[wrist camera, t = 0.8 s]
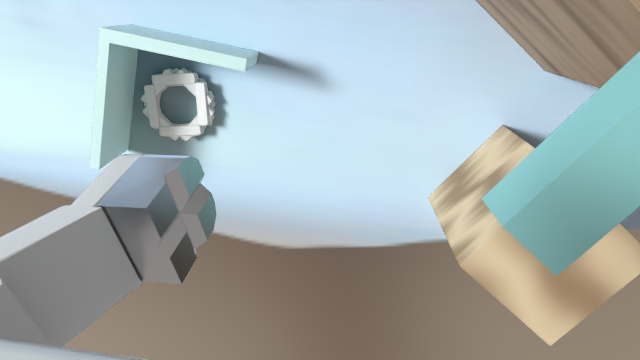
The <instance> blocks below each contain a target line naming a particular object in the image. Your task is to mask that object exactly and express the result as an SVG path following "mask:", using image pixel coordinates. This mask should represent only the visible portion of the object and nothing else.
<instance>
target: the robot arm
mask: <svg viewBox="0 0 640 360" xmlns="http://www.w3.org/2000/svg"><path fill="white" fill-rule="evenodd" d="M203 177H204V172H203V170H202V167H201V165H200V162H199V160H198V159H196V158H194V157H192V156H181V155H149V154H147V155H143V154H124V155H120V156H117V157H116V158H115V159H114V160H113V161H112V162H111V163H110V164H109V165H108V166H107V168H106V169H105V170H104V171H103V172H102V173H101V174H100V175H99V176H98V177H97V178H96V179H95V180H94V181H93V182H92V183H91V184H90V186H89V187H88V188H87V189H86V190H85V191H84V192H83V193H82V194H81V195H80V196H79V197H78V198H77V199H76V200H75V201H74V203H73V204H72V205H71V206H62V207H60V208H58V209H56V210H54V211H52V212H50V213H48V214H46V215H44V216H42V217H40V218H38V219H36V220H34V221H32V222H30V223H28V224H26V225H24V226H22V227H20V228H18V229H16V230H14V231H12V232H10V233H8V234H6V235H4V236H2V237H0V360H151V359H143V358H136V357H129V356H122V355H115V354H108V353H100V352H93V351H86V350H79V349H72V348H65V347H63V346H64V345H65V344H66V343H67V342H69V341H70V340H71V339H72V338H74V337H75V336H76V335H78V334H79V333H80V332H81V331H83V330H84V329H85V328H86V327H88V326H89V325H90V324H91V323H93V322H94V321H95V320H97V319H98V318H99V317H100V316H102V315H103V314H104V313H105V312H107V311H108V310H109V309H110V308H112V307H113V306H114V305H116V304H117V303H118V302H119V301H121V300H122V299H123V298H124V297H125V296H127V295H128V294H129V293H131V292H132V291H133V290H134V289H136V288H137V287H138V286H139V285H141V284H142V283H141V282H158V283H176V284H182V283H183V281H184V279H185V278H186V276H187V274H188V272H189V271H190V269H191V267H192V266H193V264H194V262H195V261H196V259H197V254H196V250H195V248H197V247H198V246H200V245H201V244H203V243H204V242H206V241H207V240H208V238H209V237H210V235H211V233H212V231H213V229H214V224H215V219H216V209H215V202H214V199H213V197H212V194H211V192H210V191H208V190H207V189H206V188H205V187H204V186H203V185H202V184H201V181H202V179H203Z"/></svg>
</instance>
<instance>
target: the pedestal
mask: <svg viewBox="0 0 640 360" xmlns="http://www.w3.org/2000/svg"><path fill="white" fill-rule="evenodd" d="M534 149H535V148H534V147H533V146H531V145H530V144H529V143H527V142H526V141H524V140H523V139H522V138H520V137H519V136H517V135H516V134H515V133H513V132H512V131H511V130H509V129H508V128H506V127H505V126H504V125H502V126H501V127H500V128H499V129H498V130H497V131H496V132H495V133H494V134H493V135H492V136H491V137H490V138H489V139H488V140H487V141H486V142H485V143H484V144H483V145H482V146H480V147H479V148H478V149H477V150H476V151H475V152H474V153H473V154H472V155H471V156H470V157H469V158H468V159H467V160H466V161H465V162H464V163H463V164H462V165H461V166H460V167H459V168H458V169H457V170H456V171H455V172H453V173H452V174H451V175H450V176H449V177H448V178H447V179H446V180H445V181H444V182H443V183H442V184H441V185H440V186H439V187H438V188H437V189H436V190H435V191H434V192H433V193H432V194H431V195H430V196H429V197H428V199H429V201H430V203H431V205H432V207H433V210H434V212H435V214H436V216H437V218H438V220H439V222H440V225H441V227H442V229H443V231H444V233H445V235H446V237H447V240H448V242H449V244H450V246H451V248H452V250H453V252H454V254H455V256H456V259H457V261H458V263H459V265H460V267H461V268H463V269H464V270H465V271H466V272H467V273H468V274H469V275H470V276H472V277H473V278H474V279H475V280H476V281H477V282H478V283H480V284H481V285H482V286H483V287H484V288H485V289H486V290H487V291H489V292H490V293H491V294H492V295H493V296H494V297H495V298H496V299H498V300H499V301H500V302H501V303H502V304H503V305H504V306H506V307H507V308H508V309H509V310H510V311H511V312H512V313H513V314H515V315H516V316H517V317H518V318H519V319H520V320H521V321H523V322H524V323H525V324H526V325H527V326H528V327H529V328H531V329H532V330H533V331H534V332H535V333H536V334H537V335H538V336H540V337H541V338H542V339H543V340H544V341H545V342H546V343H548V344H549V345H550V346H551V345H552V344H553V343H554V342H556V341H557V340H558V339H559V338H561V337H562V336H563V335H564V334H566V333H567V332H568V331H569V330H570V329H572V328H573V327H574V326H576V325H577V324H578V323H579V322H580V321H582V320H583V319H584V318H585V317H587V316H588V315H589V314H590V313H592V312H593V311H594V310H595V309H597V308H598V307H599V306H600V305H602V304H603V303H604V302H605V301H607V300H608V299H609V298H610V297H612V296H613V295H614V294H615V293H617V292H618V291H619V290H620V289H622V288H623V287H624V286H625V285H627V284H628V283H629V282H630V281H632V280H633V279H634V278H635V277H637V276H638V275H639V274H640V243H639V242H638V241H637V240H636V239H635V238H634V237H633V236H632V235H631V234H630V233H629V232H628V231H627V230H626V229H625V228H624V227H623V226H622V225H621V224H618V225H617V226H616V227H615V228H614V229H613V230H611V231H610V232H609V233H608V234H607V235H605V236H604V237H603V238H602V239H601V240H599V241H598V242H597V243H596V244H595V245H593V246H592V247H591V248H590V249H589V250H588V251H586V252H585V253H584V254H583V255H582V256H580V257H579V258H578V259H577V260H576V261H574V262H573V263H572V264H571V265H570V266H569V267H567V268H566V269H565V270H564V271H563V272H561V273H560V274H559V275H558V276H556V275H554V274H553V273H552V272H551V271H550V270H549V269H548V268H547V267H546V266H545V265H544V264H542V263H541V262H540V261H539V260H538V259H537V258H536V257H535V256H534V255H533V254H532V253H531V252H529V251H528V250H527V249H526V248H525V247H524V246H523V245H522V244H521V243H520V242H519V241H518V240H516V239H515V238H514V237H513V236H512V235H511V234H510V233H509V232H508V231H507V230H506V229H505V228H503V227H502V225H501V224H500V223H499V221H498V220H497V219H496V217H495V216H494V215H493V213H492V212H491V211H490V209H489V208H488V207H487V205H486V204H485V203H484V201H483V200H482V198H483V197H484V196H485V195H486V194H487V193H488V192H489V191H490V190H491V189H492V188H493V187H494V186H496V185H497V184H498V183H499V182H500V181H501V180H502V179H503V178H504V177H505V176H506V175H507V174H508V173H510V172H511V171H512V170H513V169H514V168H515V167H516V166H517V165H518V164H519V163H520V162H521V161H522V160H524V159H525V158H526V157H527V156H528V155H529V154H530V153H531V152H532V151H533V150H534Z"/></svg>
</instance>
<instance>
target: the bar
mask: <svg viewBox="0 0 640 360" xmlns="http://www.w3.org/2000/svg"><path fill="white" fill-rule="evenodd" d="M482 200H483V201H484V203H485V204H486V205H487V207H488V208H489V209H490V211H491V212H492V213H493V215H494V216H495V217H496V219H497V220H498V221H499V223H500V224H501V225H502V227H503V228H505V229H506V230H507V231H508V232H509V233H510V234H511V235H512V236H513V237H514V238H515V239H516V240H518V241H519V242H520V243H521V244H522V245H523V246H524V247H525V248H526V249H527V250H528V251H529V252H531V253H532V254H533V255H534V256H535V257H536V258H537V259H538V260H539V261H540V262H541V263H542V264H544V265H545V266H546V267H547V268H548V269H549V270H550V271H551V272H552V273H553V274H554V275H556V276H558V275H559V274H560V273H561V272H563V271H564V270H565V269H566V268H567V267H569V266H570V265H571V264H572V263H573V262H574V261H576V260H577V259H578V258H579V257H580V256H582V255H583V254H584V253H585V252H586V251H588V250H589V249H590V248H591V247H592V246H593V245H595V244H596V243H597V242H598V241H599V240H601V239H602V238H603V237H604V236H605V235H607V234H608V233H609V232H610V231H611V230H613V229H614V228H615V227H616V226H617V225H618V224H620V223H621V222H622V221H623V220H624V219H626V218H627V217H628V216H629V215H630V214H632V213H633V212H634V211H635V210H636V209H637V208H639V207H640V52H639V53H637V54H636V55H635V56H634V57H633V58H632V59H631V60H630V61H629V62H628V63H627V64H626V65H625V66H624V67H622V68H621V69H620V70H619V71H618V72H617V73H616V74H615V75H614V76H613V77H612V78H611V79H610V80H608V81H607V82H606V83H605V84H604V85H603V86H602V87H601V88H600V89H599V90H598V91H597V92H596V93H594V94H593V95H592V96H591V97H590V98H589V99H588V100H587V101H586V102H585V103H584V104H583V105H582V106H580V107H579V108H578V109H577V110H576V111H575V112H574V113H573V114H572V115H571V116H570V117H569V118H568V119H567V120H565V121H564V122H563V123H562V124H561V125H560V126H559V127H558V128H557V129H556V130H555V131H554V132H553V133H551V134H550V135H549V136H548V137H547V138H546V139H545V140H544V141H543V142H542V143H541V144H540V145H539V146H537V147H536V148H535V149H534V150H533V151H532V152H531V153H530V154H529V155H528V156H527V157H526V158H525V159H524V160H522V161H521V162H520V163H519V164H518V165H517V166H516V167H515V168H514V169H513V170H512V171H511V172H510V173H508V174H507V175H506V176H505V177H504V178H503V179H502V180H501V181H500V182H499V183H498V184H497V185H496V186H494V187H493V188H492V189H491V190H490V191H489V192H488V193H487V194H486V195H485V196H484V197H483V198H482Z"/></svg>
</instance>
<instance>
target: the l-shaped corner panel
mask: <svg viewBox="0 0 640 360" xmlns="http://www.w3.org/2000/svg"><path fill="white" fill-rule="evenodd" d="M138 49H141V50H146V51H150V52H155V53H160V54H164V55H169V56H174V57H178V58H183V59H188V60H192V61H197V62H202V63H206V64H211V65H216V66H220V67H225V68H230V69H234V70H239V71H244V72H245V71H246V70H248V69H249V68H251V67H252V66H253V65H255V64H256V63H257V58H258V52H257V51H252V50H248V49H243V48H238V47H234V46H229V45H224V44H220V43H215V42H211V41H206V40H201V39H197V38H192V37H187V36H183V35H178V34H173V33H169V32H164V31H160V30H155V29H150V28H146V27H141V26H136V25H132V24H130V25H119V26H108V27H100V28H99V42H98V55H97V68H96V81H95V95H94V108H93V121H92V134H91V148H90V161H89V167H90V168H94V169H100V168H102V167H103V166H105V165H106V164H108V163H109V162H111V161H112V160H113V159H115V158H116V157H117V156H119V155H121V154H122V153H124V152H125V151H127V150H128V149H129V139H130V129H131V118H132V108H133V98H134V88H135V78H136V68H137V58H138ZM151 78H152V84H149V85H144V91H145V94H144V95H143V96H142V97H141V100H142V101H143V102H144V106H145V109H144V110H143V111H142V112H143V113H144V114H145V115H146V116H147V117H148V118H149V122H150V126H151V127H152V128H154V129H158V130H159V134H160V136H161V137H170V138H171V139H173V140H177V139H178V138H179V137H180V138H181V139H183V140H185V141H188V140H189V139H190V138H191V137H192V138H195V137H196V136H197V135H201V134H203V133H204V131H205V128H206V126H210V125H212V120H213V119H214V118H215V117H214V115H213V114H214V112H215V109H214V108H213V107H214V106H215V105H216V104H215V102H214V101H213V100H214V98H215V96H214V95H213V94H212V91H210V90H208V87H207V83H206V82H205V80H204V79H201V78H198V74H197V73H192V71H190V70H189V71H187V70H186V69H185V68H182V69H180V70H179V69H178V68H175V69H174V70H172V69H170V68H169V69H166V70H163V73H162V74H156V75H152V76H151ZM170 86H185V87H186V88H187V89H188V90H189V91H190V92H191V93H192V94H193V95H194V96H195V97H196V104H197V115H196V116H195V118H194V119H193V120H192V121H191V122H190V123H186V124H175V123H171V122H170V121H169V120H168V119H167V118H166V117H165V115H164V114H163V113H162V112H161V109H160V99H161V93H162V92H163V91H164V90H166V89H167V88H168V87H170Z"/></svg>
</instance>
